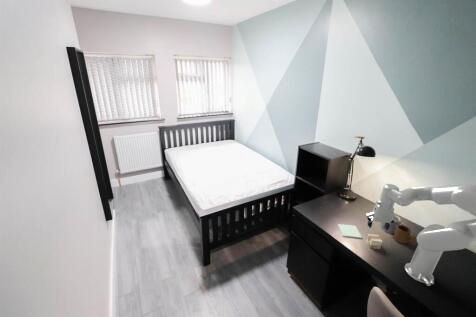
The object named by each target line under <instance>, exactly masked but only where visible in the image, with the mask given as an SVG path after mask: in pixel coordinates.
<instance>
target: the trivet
mask: <svg viewBox="0 0 476 317" xmlns="http://www.w3.org/2000/svg"><path fill="white" fill-rule="evenodd" d="M337 226H338V228H339V231H340V233H341V236H342V237H344V238H345V237H346V238H352V239H353V238H354V239H362V238H363V237H362V235H361V233H360V231H359V229H358V228H357V226H356V225H351V224H343V223H341V224H340V223H337Z"/></svg>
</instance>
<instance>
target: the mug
mask: <svg viewBox="0 0 476 317" xmlns="http://www.w3.org/2000/svg"><path fill="white" fill-rule="evenodd" d="M393 234H394V235H393V239H394V240H395V242H398V243H400V244H403V245H404V244H407V243H408V241H409V242H411V243H414V242H417V235H415V234H413V233H412V229H411V228H410V227H408V226H406V225H405V226H404V225H402V224H399V225H398V226H397V228H396V231H395V233H393ZM411 237H412V238H411Z"/></svg>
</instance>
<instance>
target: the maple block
mask: <svg viewBox="0 0 476 317" xmlns="http://www.w3.org/2000/svg"><path fill="white" fill-rule="evenodd" d="M365 242H366V244H367V246H368V247H369V248H370V249H375V250H381V247H382V244H383V240H382V239H381V237H380V236H379V234H373V233H368V234H367V236H366V239H365Z"/></svg>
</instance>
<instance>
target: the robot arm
mask: <svg viewBox="0 0 476 317" xmlns="http://www.w3.org/2000/svg"><path fill="white" fill-rule="evenodd" d="M379 196H380V197H379V199H378V201H376V202H375V203H376V204H375V206H374V207H373V209H372V212H369V213H366V214H365V218H366V219H367V226H368V228H369V229H371V228H372V226H373V222H377V223H378V222H379V223H381V222H384V223H385V225H384V227H385V229H386V230H388V228H389V226H390V225H391V224H392V223H394V221H396V220H397V218H396V217H394V216H393V215H394V213H395V208H394V206H395V204H396V205H398V206H401V207H407V206H410V205H411V204H413V203H414V202H419V201H432V202H434V203H435V204H437V205H439V206H440V205H443V206H446V205H455V206H456V207H458V208H459V209H461V210H462V211H465V212H466V213H469V214H470V215H472V216H474V217H476V184H458V185H447V186H417V187H409V188H405V189H403V190H400V188H399V187H398V186H397V185H395V184H392V183H386V184H384V185H383V187H382V190H381V193H380V195H379ZM475 241H476V218H471V219H466V220H459V221H458V220H457V221H453V222H451V223H449V224H448V225H447V226H446V227H445V226H444V225H442V224H438V223H433V224H430V225H427V226H426V227H424V228H423V229H422V230H421V231H420V232H418V234H417V235H416V242H417V246H416V248H415V250H414V253H413V256H412V258H411V260H410V262H406V263H405V265H404V270H405V271H406V272H405V273H407V274H408V276H410V277H411V278H413V280H415V281H418V282H419V283H423V284H425V285H426V286H428V287H430V286H432V285H434V284H435V277H434V275H433V272H434V271H435V269H436V267H437V264H438V262H439V261H440V258H441V257H442V255H443V253H444V252H449V251H458V250H460V251H461V250H464V249H467V248H468V247H469V246H471V245H472V243H473V242H475Z"/></svg>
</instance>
